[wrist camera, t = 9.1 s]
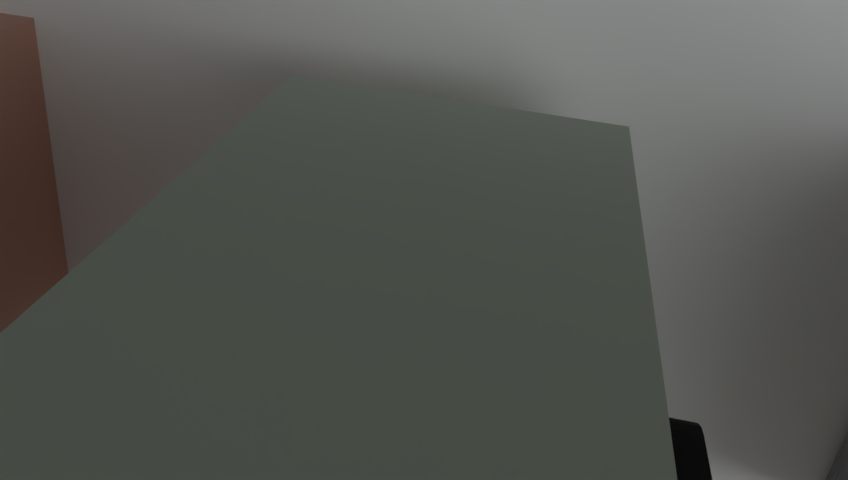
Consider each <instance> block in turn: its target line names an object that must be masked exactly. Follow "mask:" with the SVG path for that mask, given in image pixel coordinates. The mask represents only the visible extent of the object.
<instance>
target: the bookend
mask: <svg viewBox="0 0 848 480" xmlns="http://www.w3.org/2000/svg"><path fill="white" fill-rule="evenodd" d="M826 480H848V433H847V435H846V437H845V439H844V441H843V443H842V446H841V448H840V450H839V452H838V454H837V456H836V458H835V461H834V463H833V465H832V467H831V469H830V471H829V473H828V475H827V478H826Z"/></svg>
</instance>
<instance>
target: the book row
mask: <svg viewBox="0 0 848 480" xmlns="http://www.w3.org/2000/svg"><path fill="white" fill-rule="evenodd" d="M67 274H68V267H67V259H66V252H65V244H64V237H63V230H62V222H61V215H60V208H59V200H58V193H57V185H56V178H55V171H54V163H53V156H52V148H51V141H50V134H49V126H48V119H47V111H46V104H45V97H44V89H43V82H42V74H41V67H40V60H39V52H38V45H37V38H36V30H35V23H34V18H31V17H24V16H18V15H11V14H4V13H0V333H1V332H2V331H3V330H4V329H5V328H7V327H8V326H9V325H10V324H11V323H12V322H13V321H14V320H16V319H17V318H18V317H19V316H20V315H21V314H22V313H24V312H25V311H26V310H27V309H28V308H29V307H30V306H32V305H33V304H34V303H35V302H36V301H37V300H38V299H39V298H41V297H42V296H43V295H44V294H45V293H46V292H47V291H49V290H50V289H51V288H52V287H53V286H54V285H55V284H57V283H58V282H59V281H60V280H61V279H62V278H63V277H64V276H66V275H67Z"/></svg>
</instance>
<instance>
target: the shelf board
mask: <svg viewBox="0 0 848 480" xmlns="http://www.w3.org/2000/svg"><path fill="white" fill-rule="evenodd" d="M0 13H4V14H11V15H18V16H24V17H31V18H34V23H35V30H36V38H37V45H38V52H39V60H40V67H41V74H42V82H43V89H44V97H45V104H46V111H47V119H48V126H49V134H50V141H51V148H52V156H53V163H54V171H55V178H56V185H57V193H58V200H59V208H60V215H61V222H62V230H63V237H64V244H65V252H66V259H67V267H68V273H69V272H70V271H71V270H72V269H74V268H75V267H76V266H77V265H78V264H79V263H80V262H81V261H83V260H84V259H85V258H86V257H87V256H88V255H89V254H91V253H92V252H93V251H94V250H95V249H96V248H97V247H99V246H100V245H101V244H102V243H103V242H104V241H105V240H106V239H108V238H109V237H110V236H111V235H112V234H113V233H114V232H116V231H117V230H118V229H119V228H120V227H121V226H122V225H123V224H125V223H126V222H127V221H128V220H129V219H130V218H131V217H133V216H134V215H135V214H136V213H137V212H138V211H139V210H141V209H142V208H143V207H144V206H145V205H146V204H147V203H148V202H150V201H151V200H152V199H153V198H154V197H155V196H156V195H158V194H159V193H160V192H161V191H162V190H163V189H164V188H165V187H167V186H168V185H169V184H170V183H171V182H172V181H173V180H175V179H176V178H177V177H178V176H179V175H180V174H181V173H183V172H184V171H185V170H186V169H187V168H188V167H189V166H190V165H192V164H193V163H194V162H195V161H196V160H197V159H198V158H200V157H201V156H202V155H203V154H204V153H205V152H206V151H207V150H209V149H210V148H211V147H212V146H213V145H214V144H215V143H217V142H218V141H219V140H220V139H221V138H222V137H223V136H225V135H226V134H227V133H228V132H229V131H230V130H231V129H232V128H234V127H235V126H236V125H237V124H238V123H239V122H240V121H242V120H243V119H244V118H245V117H246V116H247V115H248V114H249V113H251V112H252V111H253V110H254V109H255V108H256V107H257V106H259V105H260V104H261V103H262V102H263V101H264V100H265V99H267V98H268V97H269V96H270V95H271V94H272V93H273V92H274V91H276V90H277V89H278V88H279V87H280V86H281V85H282V84H284V83H285V82H286V81H287V80H288V79H289V78H290V77H292V76H293V75H298V76H305V77H311V78H318V79H324V80H331V81H337V82H344V83H350V84H356V85H363V86H369V87H376V88H382V89H389V90H395V91H402V92H408V93H415V94H421V95H428V96H434V97H441V98H447V99H454V100H460V101H467V102H473V103H479V104H486V105H492V106H499V107H505V108H512V109H518V110H525V111H531V112H538V113H544V114H551V115H557V116H564V117H570V118H577V119H583V120H589V121H596V122H602V123H609V124H615V125H622V126H628V127H629V131H630V138H631V145H632V152H633V160H634V167H635V174H636V182H637V189H638V196H639V203H640V211H641V218H642V225H643V233H644V240H645V247H646V254H647V262H648V269H649V276H650V284H651V291H652V298H653V305H654V313H655V320H656V327H657V335H658V342H659V349H660V356H661V364H662V371H663V378H664V386H665V393H666V400H667V407H668V415H669V417H670V418H675V419H680V420H685V421H690V422H695V423H698V424H699V425H700V426H701V427H702V431H703V434H704V438H705V443H706V449H707V454H708V459H709V464H710V470H711V475H712V480H826V478H827V475H828V473H829V471H830V469H831V467H832V465H833V463H834V461H835V458H836V456H837V454H838V452H839V450H840V448H841V446H842V443H843V441H844V439H845V437H846V435H847V433H848V0H0Z"/></svg>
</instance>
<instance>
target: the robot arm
mask: <svg viewBox="0 0 848 480" xmlns="http://www.w3.org/2000/svg"><path fill="white" fill-rule="evenodd" d="M669 422H670V429H671V437H672V444H673V451H674V458H675V466H676V473H677V480H712V475H711V470H710V464H709V459H708V454H707V449H706V443H705V438H704V434H703V431H702V427H701V426H700V425H699V424H698V423H695V422H690V421H685V420H680V419H675V418H670V417H669Z"/></svg>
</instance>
